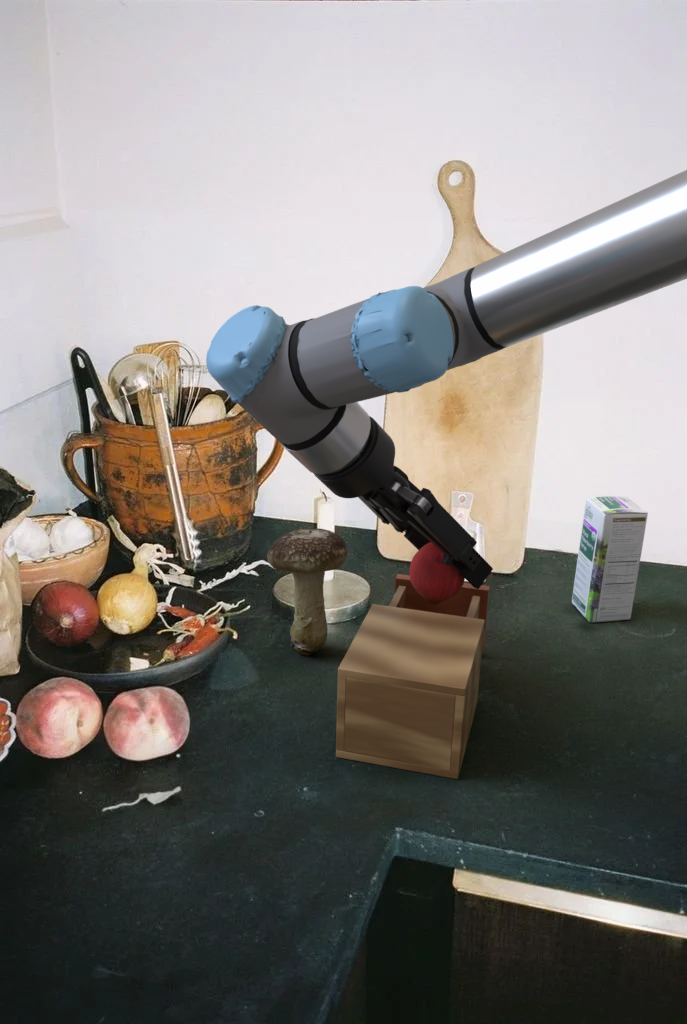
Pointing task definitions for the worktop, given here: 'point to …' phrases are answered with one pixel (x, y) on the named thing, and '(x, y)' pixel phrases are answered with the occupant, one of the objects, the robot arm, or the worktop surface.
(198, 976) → the worktop surface
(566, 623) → the worktop surface
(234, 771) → the worktop surface
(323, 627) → the mushroom
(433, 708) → the cabinet
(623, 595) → the syrup box
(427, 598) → the onion
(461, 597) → the drawer
